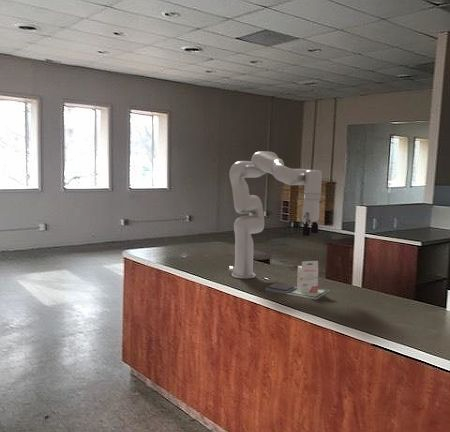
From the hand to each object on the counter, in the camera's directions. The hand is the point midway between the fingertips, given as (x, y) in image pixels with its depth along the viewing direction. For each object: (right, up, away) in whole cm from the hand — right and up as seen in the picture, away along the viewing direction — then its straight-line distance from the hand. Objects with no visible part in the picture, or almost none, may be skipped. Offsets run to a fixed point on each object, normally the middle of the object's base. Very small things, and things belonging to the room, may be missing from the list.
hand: (310, 234), depth 223 cm
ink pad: (-13, -27, +6) cm, 30 cm away
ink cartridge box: (-1, -27, +4) cm, 27 cm away
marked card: (0, -27, +3) cm, 27 cm away
